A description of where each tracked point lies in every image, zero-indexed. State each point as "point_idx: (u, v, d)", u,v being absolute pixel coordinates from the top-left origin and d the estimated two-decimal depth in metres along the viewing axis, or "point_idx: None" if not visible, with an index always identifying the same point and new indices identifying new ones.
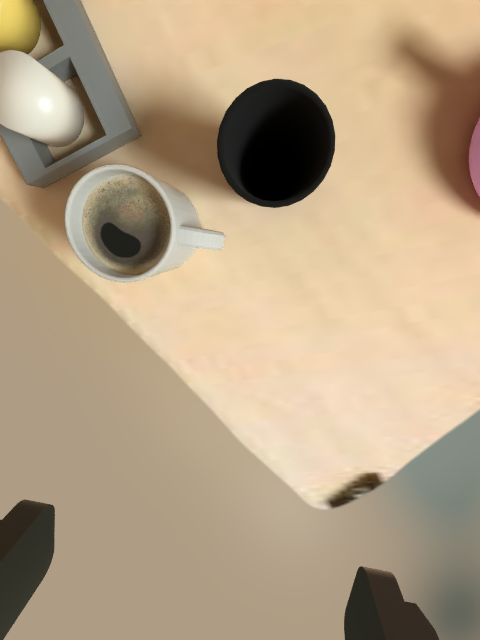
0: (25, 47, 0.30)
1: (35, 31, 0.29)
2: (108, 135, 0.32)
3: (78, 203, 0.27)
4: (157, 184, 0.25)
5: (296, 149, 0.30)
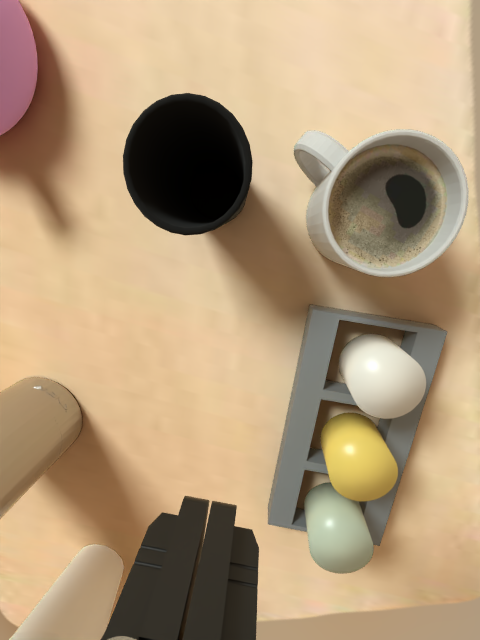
0: (352, 416, 0.32)
1: (335, 419, 0.32)
2: (337, 317, 0.31)
3: (416, 260, 0.23)
4: (323, 220, 0.22)
5: (180, 193, 0.29)
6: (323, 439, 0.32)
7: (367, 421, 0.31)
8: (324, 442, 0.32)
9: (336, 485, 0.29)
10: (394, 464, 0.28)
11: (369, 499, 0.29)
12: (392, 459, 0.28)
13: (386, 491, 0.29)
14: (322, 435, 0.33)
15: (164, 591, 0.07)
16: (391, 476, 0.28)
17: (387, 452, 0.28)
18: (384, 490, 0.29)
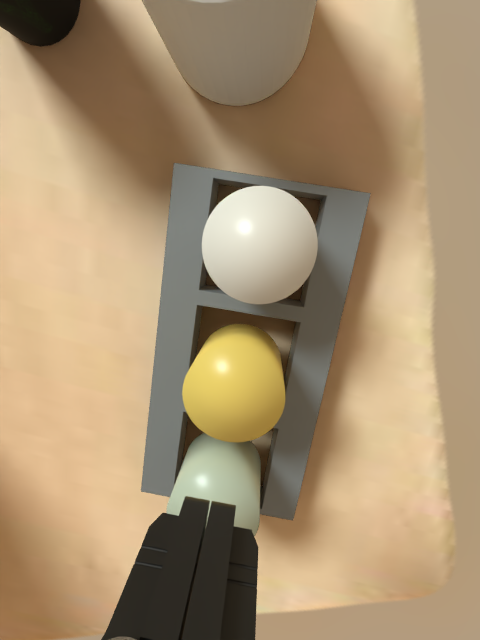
0: (238, 326, 0.22)
1: (216, 332, 0.22)
2: (210, 175, 0.21)
3: None
4: None
5: None
6: None
7: (256, 332, 0.21)
8: None
9: (195, 418, 0.19)
10: (279, 380, 0.18)
11: (246, 439, 0.19)
12: (275, 373, 0.18)
13: (270, 425, 0.19)
14: None
15: (165, 591, 0.07)
16: (276, 401, 0.18)
17: (267, 361, 0.18)
18: (267, 424, 0.19)
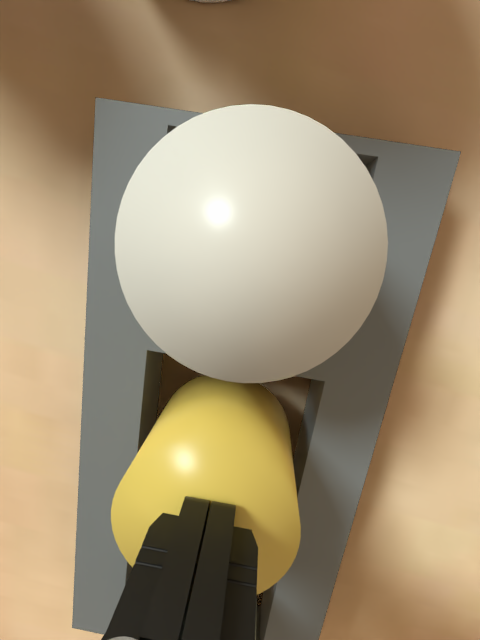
0: None
1: (184, 388, 0.14)
2: (163, 120, 0.11)
3: None
4: None
5: None
6: None
7: (249, 391, 0.13)
8: None
9: None
10: (289, 505, 0.09)
11: None
12: (281, 491, 0.09)
13: (273, 579, 0.10)
14: None
15: (165, 591, 0.07)
16: (284, 539, 0.10)
17: (266, 471, 0.09)
18: (266, 577, 0.10)
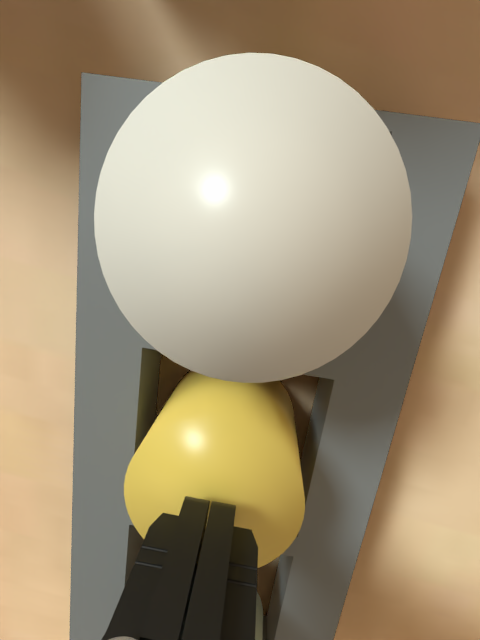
0: None
1: (191, 373, 0.14)
2: None
3: None
4: None
5: None
6: None
7: None
8: None
9: None
10: (293, 478, 0.10)
11: None
12: (286, 465, 0.10)
13: (279, 550, 0.11)
14: None
15: (165, 591, 0.07)
16: (289, 511, 0.10)
17: (271, 445, 0.10)
18: (272, 548, 0.11)
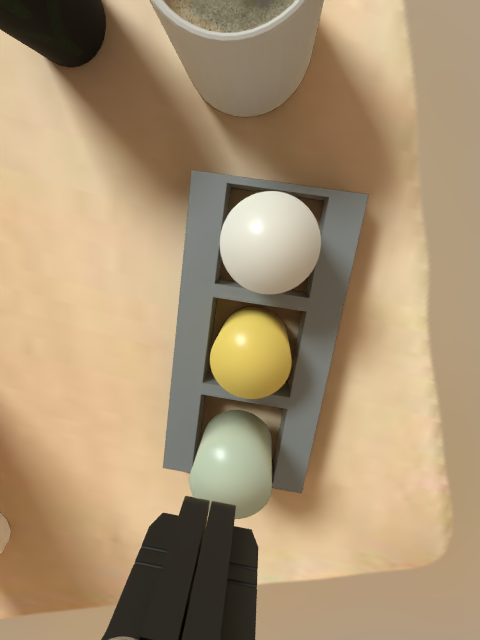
0: (252, 308, 0.27)
1: (233, 313, 0.27)
2: (224, 180, 0.23)
3: None
4: None
5: None
6: None
7: (267, 313, 0.26)
8: None
9: (220, 379, 0.24)
10: (286, 348, 0.23)
11: (261, 396, 0.24)
12: (283, 342, 0.23)
13: (280, 385, 0.23)
14: None
15: (165, 591, 0.07)
16: (284, 365, 0.23)
17: (276, 333, 0.23)
18: (277, 384, 0.23)
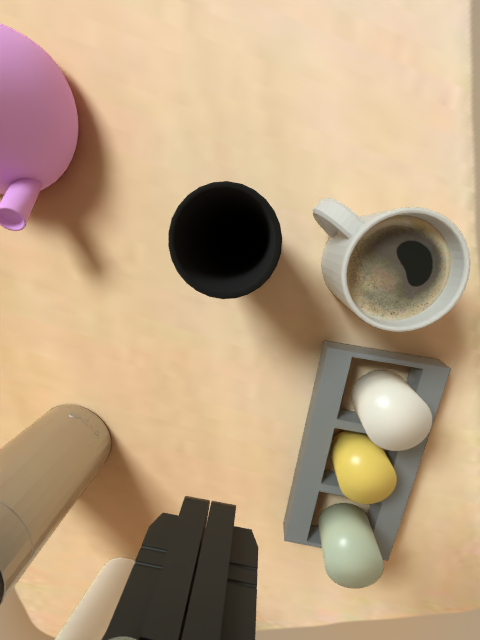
0: None
1: (343, 433, 0.38)
2: (350, 355, 0.34)
3: (424, 316, 0.26)
4: (342, 282, 0.25)
5: (208, 245, 0.32)
6: (332, 450, 0.37)
7: None
8: (333, 453, 0.37)
9: (344, 490, 0.34)
10: (393, 472, 0.33)
11: (372, 502, 0.34)
12: (391, 468, 0.33)
13: (386, 495, 0.34)
14: (331, 447, 0.38)
15: (165, 591, 0.07)
16: (391, 483, 0.34)
17: (387, 463, 0.33)
18: (384, 494, 0.34)
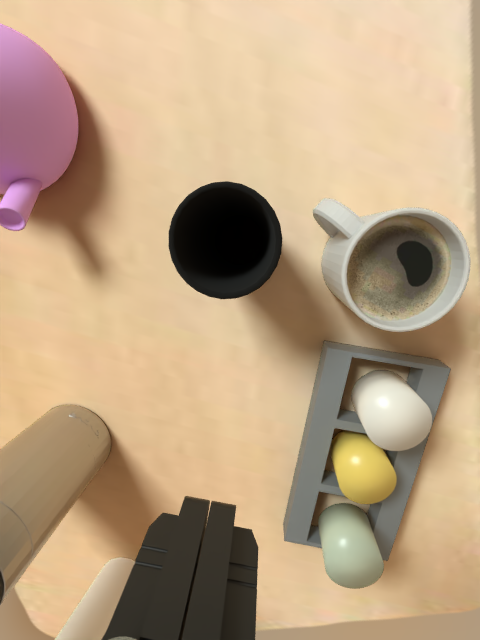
0: None
1: (343, 433, 0.38)
2: (350, 355, 0.34)
3: (424, 316, 0.26)
4: (342, 283, 0.25)
5: (208, 245, 0.32)
6: (332, 450, 0.37)
7: None
8: (333, 453, 0.37)
9: (344, 491, 0.34)
10: (393, 473, 0.33)
11: (372, 502, 0.34)
12: (391, 469, 0.33)
13: (386, 495, 0.34)
14: (331, 447, 0.38)
15: (165, 591, 0.07)
16: (391, 483, 0.34)
17: (387, 463, 0.33)
18: (384, 495, 0.34)
